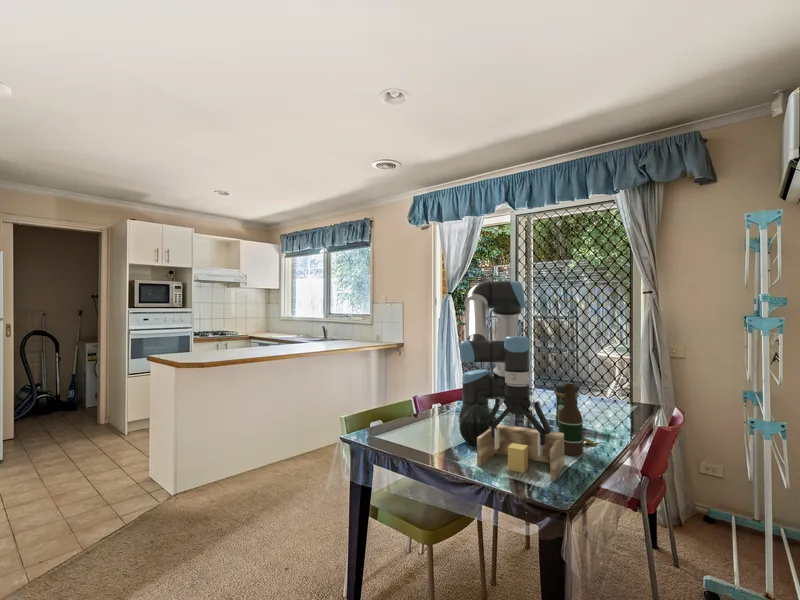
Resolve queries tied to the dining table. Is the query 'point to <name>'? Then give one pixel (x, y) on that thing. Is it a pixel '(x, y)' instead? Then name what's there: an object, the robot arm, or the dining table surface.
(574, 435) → the beer bottle
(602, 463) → the dining table surface
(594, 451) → the dining table surface
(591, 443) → the lily flower
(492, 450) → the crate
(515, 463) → the block
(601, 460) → the dining table surface
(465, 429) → the squash
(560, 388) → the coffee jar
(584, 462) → the dining table surface
